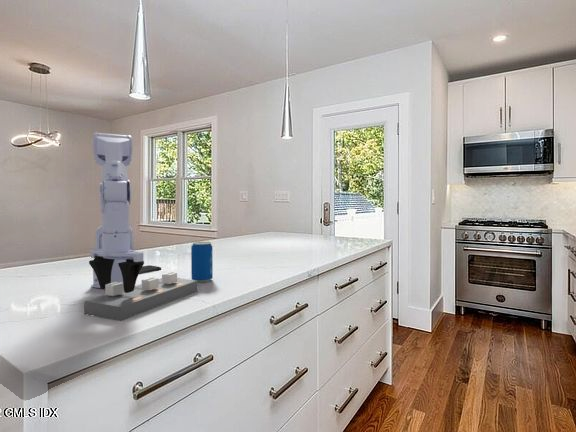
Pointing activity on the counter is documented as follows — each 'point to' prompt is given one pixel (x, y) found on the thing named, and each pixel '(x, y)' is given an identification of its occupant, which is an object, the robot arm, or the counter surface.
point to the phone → (149, 269)
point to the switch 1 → (114, 288)
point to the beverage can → (201, 261)
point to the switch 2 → (149, 283)
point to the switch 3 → (169, 278)
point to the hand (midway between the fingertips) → (117, 290)
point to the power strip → (138, 300)
